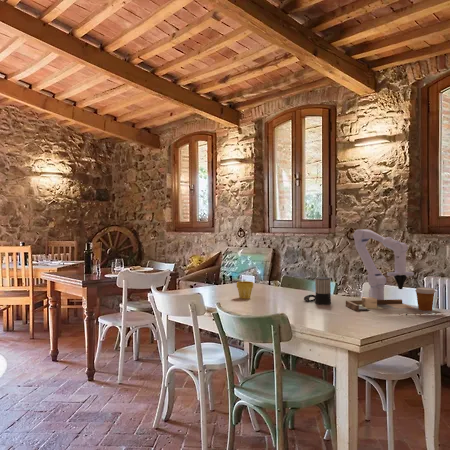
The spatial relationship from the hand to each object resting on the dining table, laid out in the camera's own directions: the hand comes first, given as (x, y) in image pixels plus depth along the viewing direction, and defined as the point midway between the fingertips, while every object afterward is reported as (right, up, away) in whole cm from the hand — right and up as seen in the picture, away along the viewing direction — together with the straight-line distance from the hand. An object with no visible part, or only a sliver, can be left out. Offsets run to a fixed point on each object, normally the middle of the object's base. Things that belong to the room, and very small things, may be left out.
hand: (400, 288), depth 250 cm
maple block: (-19, -9, -7) cm, 22 cm away
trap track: (-14, -10, -6) cm, 18 cm away
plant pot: (-85, -10, +31) cm, 91 cm away
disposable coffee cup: (+6, -10, -17) cm, 20 cm away
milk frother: (-44, -10, +12) cm, 46 cm away
